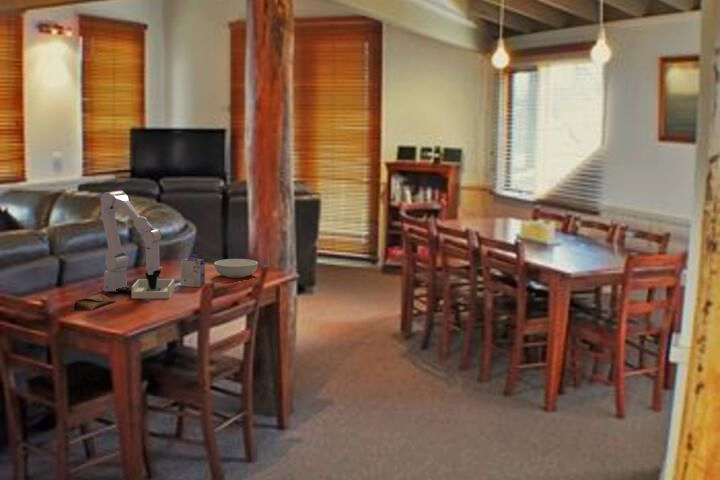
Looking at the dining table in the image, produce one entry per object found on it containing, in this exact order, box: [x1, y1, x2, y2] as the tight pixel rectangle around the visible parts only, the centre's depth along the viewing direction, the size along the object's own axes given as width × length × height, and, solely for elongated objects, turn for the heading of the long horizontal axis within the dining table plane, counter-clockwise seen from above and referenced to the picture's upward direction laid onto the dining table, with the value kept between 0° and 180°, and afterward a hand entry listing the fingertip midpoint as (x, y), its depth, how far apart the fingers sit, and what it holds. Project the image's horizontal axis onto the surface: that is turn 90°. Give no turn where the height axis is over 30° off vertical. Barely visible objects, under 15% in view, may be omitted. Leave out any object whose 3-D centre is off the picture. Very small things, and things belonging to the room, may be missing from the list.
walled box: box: [131, 278, 176, 299], centre depth 379 cm, size 16×16×5 cm
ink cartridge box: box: [180, 253, 206, 288], centre depth 396 cm, size 10×6×14 cm, turn 78°
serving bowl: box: [213, 258, 259, 279], centre depth 418 cm, size 21×21×7 cm
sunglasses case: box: [73, 292, 116, 312], centre depth 358 cm, size 18×7×7 cm, turn 163°
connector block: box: [148, 277, 159, 291], centre depth 378 cm, size 4×4×6 cm
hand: (153, 287), depth 379 cm, fingers closed on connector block, 4 cm apart
